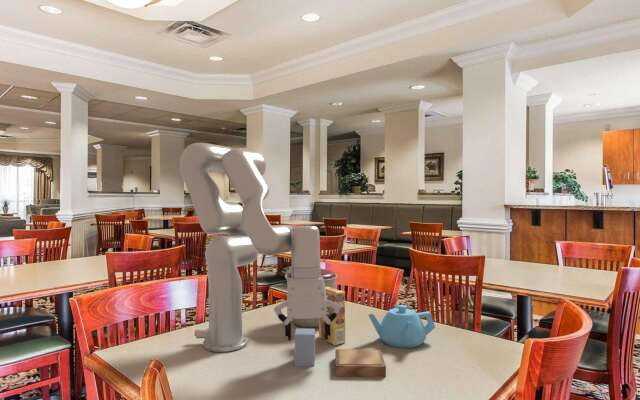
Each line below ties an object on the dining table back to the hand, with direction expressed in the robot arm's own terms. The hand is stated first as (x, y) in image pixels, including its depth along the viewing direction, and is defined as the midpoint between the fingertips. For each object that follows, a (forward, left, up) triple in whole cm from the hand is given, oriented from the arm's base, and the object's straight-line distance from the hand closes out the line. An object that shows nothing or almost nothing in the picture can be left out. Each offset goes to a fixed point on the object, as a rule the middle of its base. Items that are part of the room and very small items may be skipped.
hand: (308, 338), depth 109 cm
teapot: (+27, +17, -7) cm, 33 cm away
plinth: (+13, -3, -6) cm, 15 cm away
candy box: (+6, +17, -7) cm, 20 cm away
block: (-1, 0, -6) cm, 6 cm away
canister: (-1, +34, -7) cm, 35 cm away
